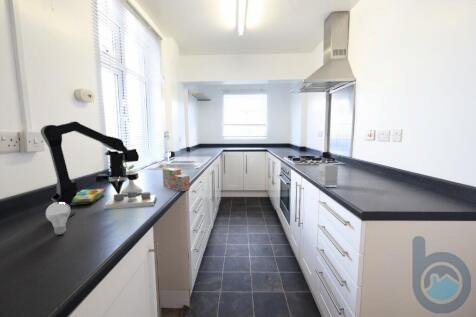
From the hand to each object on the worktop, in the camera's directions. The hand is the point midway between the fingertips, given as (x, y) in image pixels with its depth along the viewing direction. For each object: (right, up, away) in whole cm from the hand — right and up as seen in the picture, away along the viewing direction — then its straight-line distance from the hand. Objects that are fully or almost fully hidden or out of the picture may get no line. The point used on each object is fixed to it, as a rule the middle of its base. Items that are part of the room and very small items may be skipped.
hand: (118, 193), depth 114 cm
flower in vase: (-2, -4, +17) cm, 18 cm away
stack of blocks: (+20, -2, +33) cm, 39 cm away
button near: (0, -3, 0) cm, 3 cm away
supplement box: (+121, -1, +36) cm, 127 cm away
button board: (+6, -5, +1) cm, 8 cm away
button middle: (+6, -2, +2) cm, 7 cm away
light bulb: (-3, -10, -34) cm, 35 cm away
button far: (+13, -3, +3) cm, 13 cm away
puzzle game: (-20, -5, +6) cm, 22 cm away
